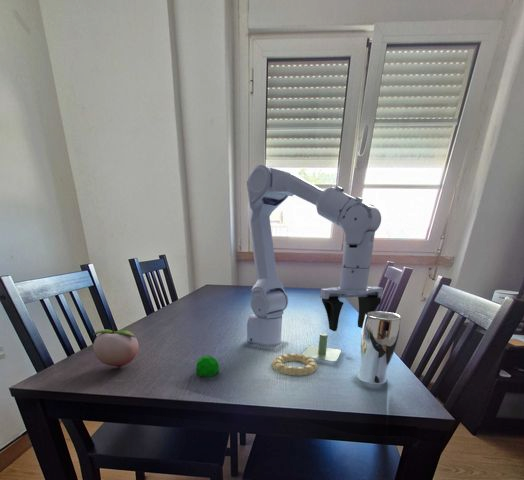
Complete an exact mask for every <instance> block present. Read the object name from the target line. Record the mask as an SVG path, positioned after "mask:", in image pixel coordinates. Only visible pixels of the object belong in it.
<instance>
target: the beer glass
mask: <svg viewBox="0 0 524 480" xmlns="http://www.w3.org/2000/svg"><path fill="white" fill-rule="evenodd" d="M401 321H402V316H401V315H399V314H397V313H394V312H388V311H380V310H379V311H378V310H374V311H371V312H367V313H366V314H365V319H364V323H363V327H362V328H361V333H360V365H359V370H358V374H357V379H358V380H359V381H361V382H363V383H366V384H370V385H377V386H378V385H379V386H380V385H384V384H385V383H387V374H388V373H387V372H388V368H389V365H390V363H391V360H392V358H393V356H394V354H395V353H394V352H395V351H396V348H397V345H398V340H399V337H400V329H401Z"/></svg>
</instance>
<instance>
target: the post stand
mask: <svg viewBox="0 0 524 480" xmlns="http://www.w3.org/2000/svg"><path fill="white" fill-rule="evenodd" d="M328 337H329V334H327V333H319V339H318V345H314V344H309V345H308V346H307V347H306V349H305V350H303V352H302V353H301V355H306V356H308V357H310V358H312V359H317V360H323V361H329V362H333V363H336V362H337V361H338V359H339V357H340V355H341V353H342V351H343V350H342V349H338V348H332V347H327V346H328Z"/></svg>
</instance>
